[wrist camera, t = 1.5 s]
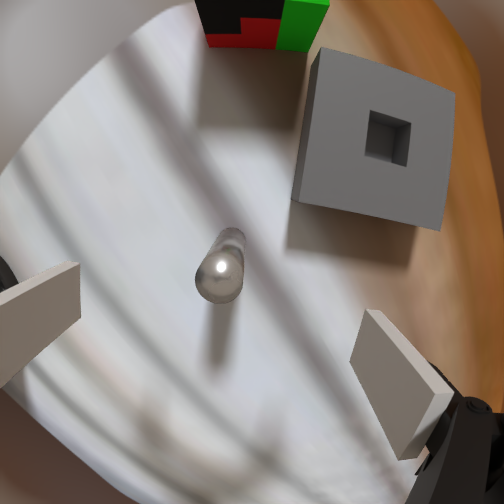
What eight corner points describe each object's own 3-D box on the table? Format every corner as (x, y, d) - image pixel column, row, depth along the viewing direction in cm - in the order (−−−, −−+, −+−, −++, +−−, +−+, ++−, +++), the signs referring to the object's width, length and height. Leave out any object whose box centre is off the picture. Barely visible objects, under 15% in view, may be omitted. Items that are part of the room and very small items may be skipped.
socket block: (290, 199, 30) (298, 201, 25) (311, 66, 27) (321, 46, 23) (415, 224, 31) (440, 231, 26) (430, 102, 28) (455, 93, 23)
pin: (215, 253, 31) (192, 299, 19) (219, 225, 31) (197, 254, 18) (243, 257, 31) (239, 306, 19) (247, 229, 31) (246, 261, 18)
